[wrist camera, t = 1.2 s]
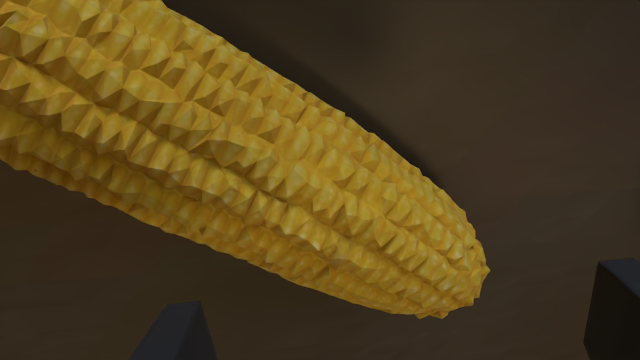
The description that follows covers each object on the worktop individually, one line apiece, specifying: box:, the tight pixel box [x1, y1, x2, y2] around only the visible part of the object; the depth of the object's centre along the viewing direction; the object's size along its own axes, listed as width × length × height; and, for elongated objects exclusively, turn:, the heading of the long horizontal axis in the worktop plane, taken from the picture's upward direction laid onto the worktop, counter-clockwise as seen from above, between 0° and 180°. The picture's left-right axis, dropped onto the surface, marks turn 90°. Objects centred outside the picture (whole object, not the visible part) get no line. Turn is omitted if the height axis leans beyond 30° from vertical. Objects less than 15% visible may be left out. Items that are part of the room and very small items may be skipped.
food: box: [0, 0, 491, 319], centre depth 16 cm, size 21×6×6 cm, turn 59°
